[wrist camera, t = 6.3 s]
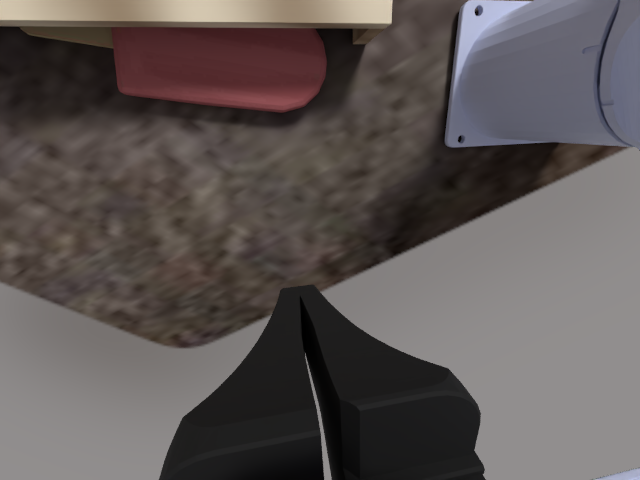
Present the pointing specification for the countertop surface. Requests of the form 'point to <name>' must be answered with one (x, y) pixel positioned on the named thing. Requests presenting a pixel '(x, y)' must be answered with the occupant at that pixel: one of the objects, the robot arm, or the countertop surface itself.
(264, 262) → the countertop surface
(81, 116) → the countertop surface
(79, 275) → the countertop surface
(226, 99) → the popsicle
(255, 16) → the rail
